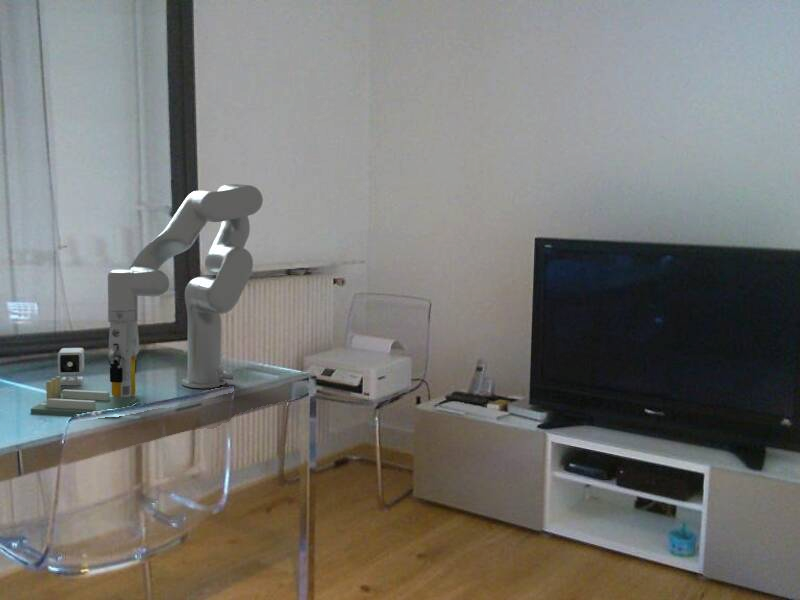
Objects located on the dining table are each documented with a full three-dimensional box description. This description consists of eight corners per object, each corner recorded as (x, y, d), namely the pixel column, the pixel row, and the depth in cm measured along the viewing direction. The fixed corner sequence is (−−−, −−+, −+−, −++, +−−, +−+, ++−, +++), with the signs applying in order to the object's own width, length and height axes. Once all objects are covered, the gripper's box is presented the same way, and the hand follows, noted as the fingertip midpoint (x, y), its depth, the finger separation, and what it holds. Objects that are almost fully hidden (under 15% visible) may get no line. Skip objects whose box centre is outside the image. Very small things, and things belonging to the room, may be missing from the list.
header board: (138, 402, 209) (138, 376, 208) (117, 418, 195) (117, 390, 194) (57, 398, 210) (56, 372, 209) (30, 413, 196) (30, 385, 195)
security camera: (58, 387, 220) (57, 352, 219) (61, 381, 227) (60, 347, 226) (82, 386, 222) (81, 352, 221) (84, 380, 229) (84, 347, 227)
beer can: (130, 392, 218) (130, 339, 216) (138, 397, 214) (138, 343, 211) (108, 395, 214) (107, 341, 212) (116, 400, 210) (116, 346, 208)
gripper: (124, 322, 202) (124, 386, 205) (148, 311, 219) (148, 371, 222) (95, 320, 202) (96, 385, 205) (121, 310, 219) (122, 369, 222)
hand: (123, 377), depth 213 cm, fingers open, 9 cm apart
